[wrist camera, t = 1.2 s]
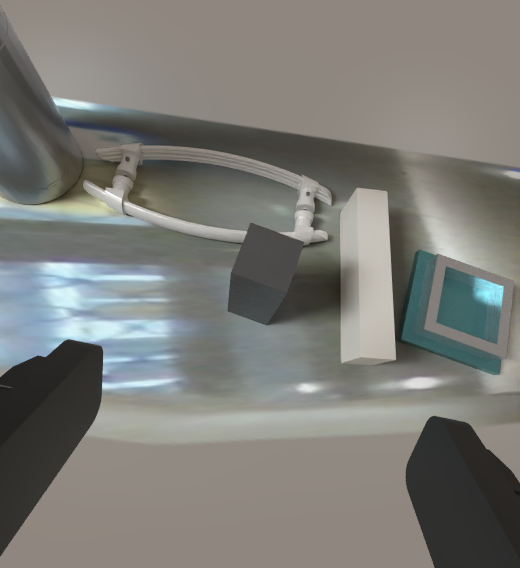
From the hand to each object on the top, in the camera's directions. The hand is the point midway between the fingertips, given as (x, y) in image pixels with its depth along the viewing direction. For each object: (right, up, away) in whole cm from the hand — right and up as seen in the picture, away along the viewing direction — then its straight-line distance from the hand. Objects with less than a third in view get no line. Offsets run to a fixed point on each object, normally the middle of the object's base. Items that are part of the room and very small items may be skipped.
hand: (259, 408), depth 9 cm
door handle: (-5, +12, +30) cm, 32 cm away
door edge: (+10, +3, +28) cm, 30 cm away
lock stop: (-1, +2, +26) cm, 26 cm away
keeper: (+20, 0, +28) cm, 35 cm away
